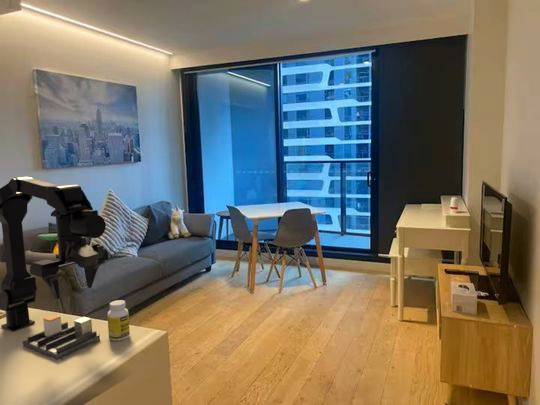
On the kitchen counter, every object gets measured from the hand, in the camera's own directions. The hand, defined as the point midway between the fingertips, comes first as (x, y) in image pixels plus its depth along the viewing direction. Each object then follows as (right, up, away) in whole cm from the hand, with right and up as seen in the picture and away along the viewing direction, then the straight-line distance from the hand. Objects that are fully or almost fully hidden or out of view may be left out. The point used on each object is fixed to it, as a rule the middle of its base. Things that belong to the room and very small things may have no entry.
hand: (74, 293), depth 107 cm
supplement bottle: (+10, -14, +6) cm, 18 cm away
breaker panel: (-4, -14, +2) cm, 15 cm away
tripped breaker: (-7, -12, +4) cm, 15 cm away
